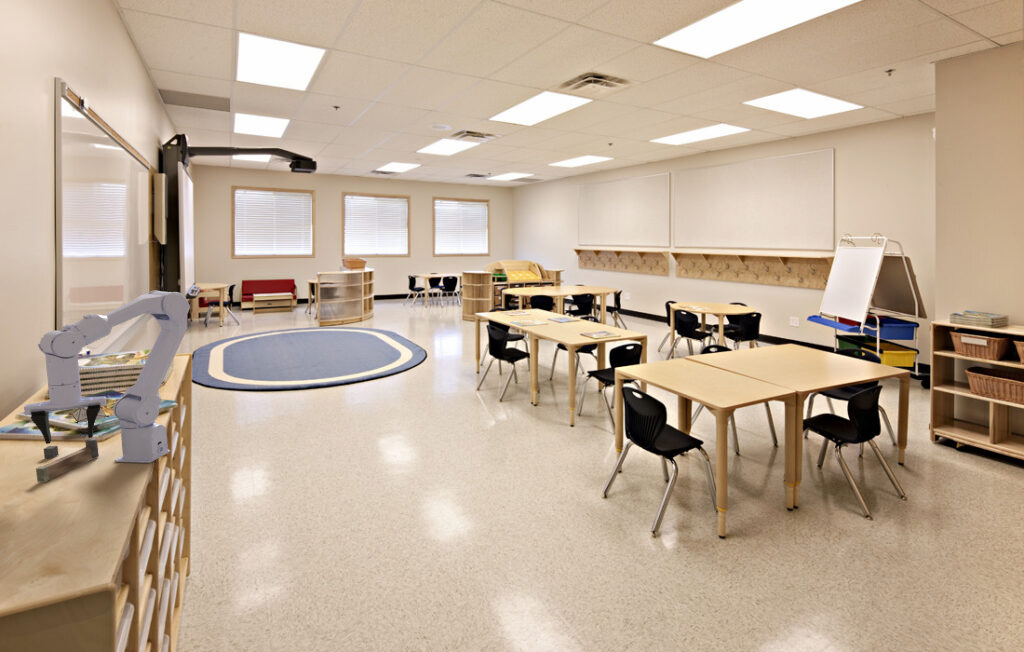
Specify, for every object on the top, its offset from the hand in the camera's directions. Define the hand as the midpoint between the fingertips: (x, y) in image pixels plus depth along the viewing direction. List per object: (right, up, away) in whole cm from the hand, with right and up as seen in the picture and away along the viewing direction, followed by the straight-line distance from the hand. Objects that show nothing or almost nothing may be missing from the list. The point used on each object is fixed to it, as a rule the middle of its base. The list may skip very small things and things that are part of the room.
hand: (70, 439), depth 127 cm
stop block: (-16, -7, +13) cm, 22 cm away
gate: (-5, -8, +6) cm, 11 cm away
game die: (-23, -4, +35) cm, 42 cm away
